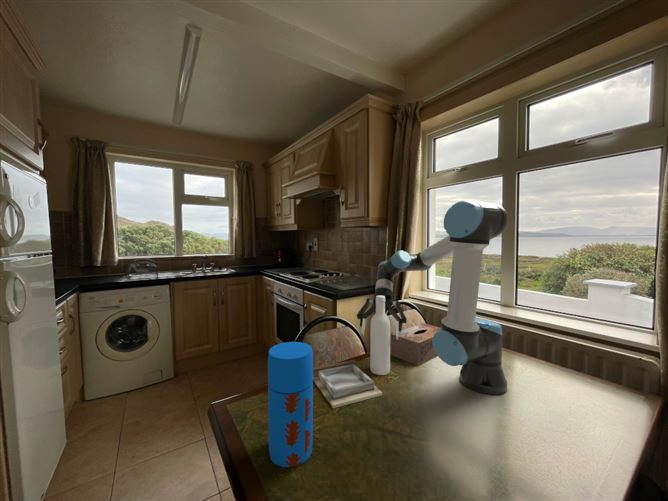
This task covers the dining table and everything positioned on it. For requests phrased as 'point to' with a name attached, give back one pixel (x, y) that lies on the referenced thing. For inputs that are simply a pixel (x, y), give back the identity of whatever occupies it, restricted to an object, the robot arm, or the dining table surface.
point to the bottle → (380, 339)
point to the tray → (344, 383)
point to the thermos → (290, 403)
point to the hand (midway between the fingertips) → (379, 336)
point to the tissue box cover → (415, 344)
